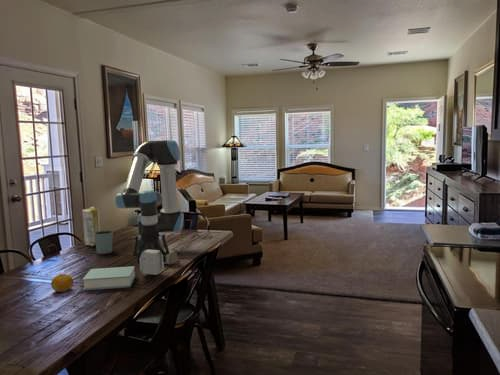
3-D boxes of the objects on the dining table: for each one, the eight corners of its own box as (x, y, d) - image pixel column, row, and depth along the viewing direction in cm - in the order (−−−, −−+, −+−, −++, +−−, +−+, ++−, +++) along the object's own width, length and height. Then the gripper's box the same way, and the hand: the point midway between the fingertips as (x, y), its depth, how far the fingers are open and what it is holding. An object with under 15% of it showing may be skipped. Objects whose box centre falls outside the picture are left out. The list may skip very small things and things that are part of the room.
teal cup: (91, 253, 226) (90, 233, 225) (104, 249, 236) (103, 229, 234) (105, 255, 223) (104, 234, 221) (117, 250, 232) (116, 230, 230)
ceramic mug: (171, 266, 198) (170, 252, 198) (157, 265, 201) (156, 250, 201) (181, 261, 208) (181, 247, 208) (168, 259, 211) (168, 245, 210)
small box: (162, 271, 188) (161, 250, 186) (156, 275, 182) (155, 253, 181) (148, 269, 190) (147, 249, 189) (142, 273, 185) (140, 252, 184)
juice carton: (102, 243, 248) (100, 206, 245) (92, 246, 241) (89, 208, 239) (93, 242, 253) (91, 205, 250) (82, 245, 246) (80, 207, 244)
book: (91, 279, 182) (91, 269, 182) (135, 276, 185) (134, 266, 184) (83, 290, 169) (82, 279, 168) (130, 287, 171) (129, 276, 171)
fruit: (55, 288, 162) (59, 269, 166) (45, 292, 166) (49, 273, 170) (74, 292, 168) (78, 273, 172) (64, 295, 172) (68, 277, 176)
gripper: (124, 226, 178) (127, 273, 181) (172, 224, 181) (175, 270, 184) (127, 223, 185) (130, 268, 188) (173, 220, 188) (176, 265, 191)
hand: (152, 269), depth 186 cm, fingers closed on small box, 9 cm apart
